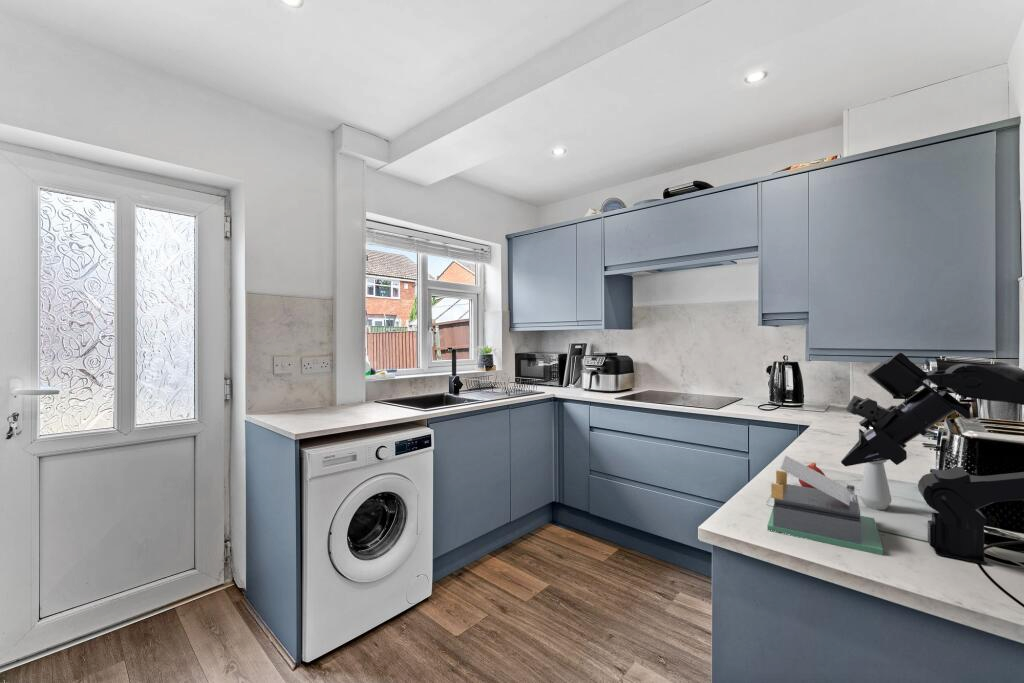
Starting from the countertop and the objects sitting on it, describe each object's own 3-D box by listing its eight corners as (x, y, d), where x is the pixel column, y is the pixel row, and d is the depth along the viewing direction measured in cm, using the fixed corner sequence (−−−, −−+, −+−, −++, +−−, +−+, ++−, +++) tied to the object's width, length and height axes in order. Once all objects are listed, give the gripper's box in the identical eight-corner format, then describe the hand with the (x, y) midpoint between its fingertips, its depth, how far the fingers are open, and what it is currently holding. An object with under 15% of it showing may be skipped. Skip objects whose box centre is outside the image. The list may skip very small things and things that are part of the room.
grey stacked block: (856, 515, 94) (856, 479, 94) (861, 544, 81) (861, 502, 81) (777, 501, 102) (777, 468, 102) (770, 525, 89) (770, 487, 89)
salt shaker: (897, 512, 98) (897, 454, 98) (868, 510, 99) (868, 453, 99) (881, 503, 104) (881, 448, 104) (853, 501, 105) (853, 447, 105)
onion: (801, 496, 108) (801, 464, 108) (796, 489, 114) (796, 458, 114) (829, 499, 106) (829, 466, 106) (823, 491, 111) (822, 460, 111)
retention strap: (852, 495, 92) (855, 490, 91) (855, 510, 84) (858, 505, 84) (783, 459, 99) (786, 454, 98) (779, 469, 91) (782, 464, 91)
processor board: (874, 522, 92) (874, 518, 92) (882, 555, 79) (882, 549, 79) (775, 504, 103) (775, 500, 103) (767, 530, 89) (767, 525, 89)
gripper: (872, 379, 93) (810, 425, 100) (881, 387, 78) (807, 441, 84) (922, 420, 89) (854, 465, 95) (943, 436, 73) (859, 489, 80)
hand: (842, 464), depth 89 cm, fingers closed
